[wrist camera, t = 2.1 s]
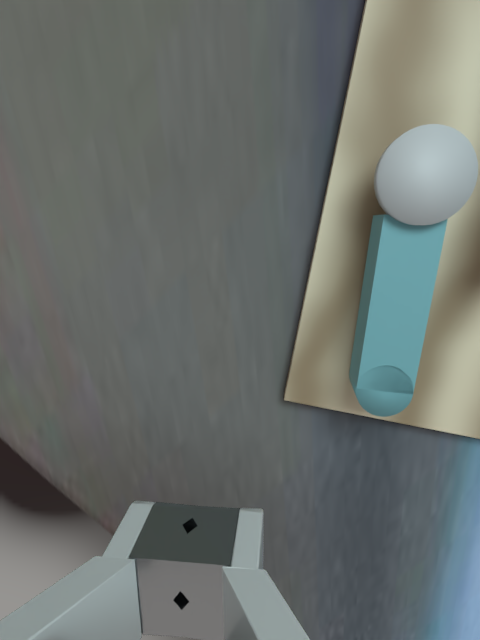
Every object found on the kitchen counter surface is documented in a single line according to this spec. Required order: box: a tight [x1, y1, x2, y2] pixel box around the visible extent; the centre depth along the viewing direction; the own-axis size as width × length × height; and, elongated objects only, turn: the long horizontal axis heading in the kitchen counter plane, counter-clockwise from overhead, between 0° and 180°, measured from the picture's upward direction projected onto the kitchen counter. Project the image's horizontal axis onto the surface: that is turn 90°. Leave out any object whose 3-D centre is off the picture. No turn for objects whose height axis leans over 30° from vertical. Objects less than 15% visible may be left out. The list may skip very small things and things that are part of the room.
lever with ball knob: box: [349, 124, 478, 417], centre depth 21 cm, size 15×4×3 cm, turn 176°
